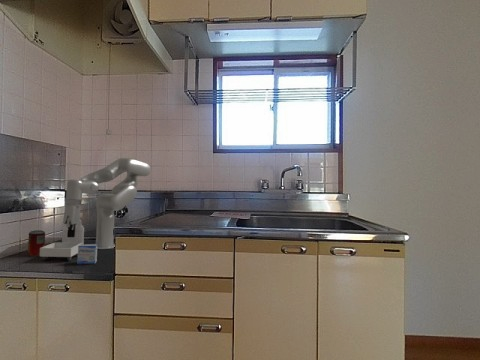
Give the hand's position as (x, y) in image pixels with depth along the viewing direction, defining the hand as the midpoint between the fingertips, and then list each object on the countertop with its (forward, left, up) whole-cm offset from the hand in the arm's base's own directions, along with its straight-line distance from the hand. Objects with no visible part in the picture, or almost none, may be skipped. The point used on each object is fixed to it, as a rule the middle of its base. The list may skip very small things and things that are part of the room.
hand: (70, 237), depth 169 cm
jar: (-20, -6, -9) cm, 23 cm away
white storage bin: (+11, +1, -9) cm, 14 cm away
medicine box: (+19, +16, -9) cm, 26 cm away
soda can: (+5, -14, -9) cm, 18 cm away
